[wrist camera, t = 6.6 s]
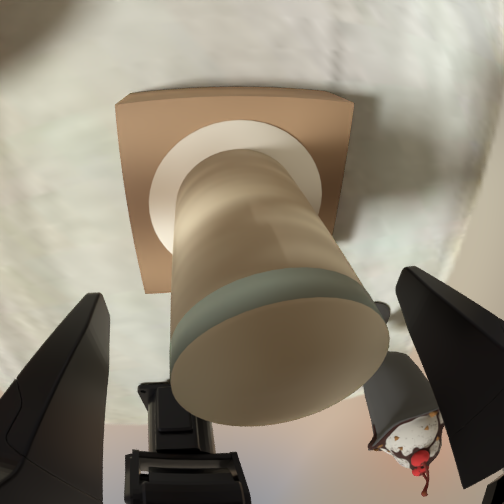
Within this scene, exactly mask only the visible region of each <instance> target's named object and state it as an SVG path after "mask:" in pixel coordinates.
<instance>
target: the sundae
mask: <svg viewBox="0 0 504 504" xmlns="http://www.w3.org/2000/svg"><path fill="white" fill-rule="evenodd" d="M375 305H376V306H377V308H378V310H379V312H380V313H381V315H382V317H383V318H384V320H385V322H386V323H387V321H388V319H389V316H390V311H389V308H388V307H387V306H386V305H385V304H382V303H375ZM363 387H364V393H365V398H366V402H367V406H368V410H369V414H370V418H371V422H372V428H373V434H374V436H373V438H372V440H371V441H370V443H369V444H368V450H375V451H384V452H386V453H388V454H390V455H393V457H394V458H395V459H396V461H397V462H398V463H399V464H400V465H402V466H404V467H406V468H410V469H412V473H413V475H414V476H421V475H423V477H424V478H425V479H426V485H425V487H424V489H423V491H422V493H421V495H422V496H423V497H424V496H427V495H428V494H427V488H428V483H429V470H428V469H429V464H430V463H431V462H432V461H433V460H434V459H435V458H436V457H437V455H438V454H439V452H440V448H441V446H442V439H441V436H442V429H443V427H444V422H443V419H442V416H441V413H440V411H439V408H438V405H437V402H436V399H435V397H434V394H433V391H432V388H431V386H430V383H429V381H428V380H427V378H426V377H425V376H424V374H423V373H422V371H421V370H420V369H419V367H418V366H417V365H416V364H415V363H414V362H413V361H412V359H411V358H410V357H409V356H408V355H406V354H403V353H399V352H389V351H387V354H386V356H385V358H384V360H383V362H382V364H381V365H380V367H379V368H378V370H377V371H376V372H375V373H374V375H373V376H372V377H371V378H370V379H369V380H368V381H367V382H366V383H365V384H364V385H363ZM425 473H426V474H427V477H426V475H425Z"/></svg>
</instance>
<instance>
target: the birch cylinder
mask: <svg viewBox="0 0 504 504" xmlns="http://www.w3.org/2000/svg"><path fill="white" fill-rule="evenodd" d="M389 340H390V338H389V331H388V327H387V325H386V322H385V320H384V318H383V317H382V315H381V313H380V312H379V310H378V308H377V306H376V305H375V303H374V301H373V300H372V298H371V296H370V295H369V293H368V292H367V291H366V289H365V288H364V287H363V285H362V283H361V282H360V280H359V278H358V277H357V275H356V273H355V272H354V270H353V269H352V267H351V265H350V264H349V262H348V261H347V259H346V257H345V256H344V254H343V253H342V251H341V250H340V248H339V246H338V245H337V243H336V242H335V240H334V239H333V237H332V236H331V234H330V233H329V231H328V230H327V228H326V227H325V225H324V224H323V222H322V221H321V219H320V218H319V216H318V215H317V213H316V212H315V210H314V209H313V207H312V206H311V204H310V203H309V201H308V200H307V198H306V197H305V195H304V194H303V193H302V191H301V190H300V188H299V187H298V185H297V184H296V183H295V181H294V180H293V178H292V177H291V175H290V174H289V173H288V171H287V170H286V169H285V168H284V166H282V165H281V164H280V163H279V162H278V161H277V160H275V159H274V158H272V157H270V156H268V155H266V154H264V153H261V152H258V151H254V150H248V149H233V150H227V151H222V152H219V153H216V154H214V155H211V156H209V157H207V158H206V159H204V160H203V161H201V162H200V163H198V164H197V165H196V166H195V167H194V168H193V169H192V170H191V171H190V172H189V173H188V174H187V175H186V177H185V179H184V180H183V182H182V184H181V186H180V188H179V191H178V194H177V199H176V208H175V222H174V238H173V257H172V280H171V324H170V384H171V389H172V393H173V395H174V397H175V399H176V400H177V402H178V403H179V404H180V405H181V406H182V407H183V408H184V409H185V410H186V411H188V412H190V413H191V414H193V415H195V416H197V417H199V418H201V419H204V420H207V421H210V422H213V423H218V424H223V425H231V426H265V425H272V424H279V423H284V422H289V421H292V420H297V419H300V418H303V417H306V416H309V415H312V414H314V413H317V412H320V411H322V410H324V409H326V408H328V407H330V406H332V405H334V404H336V403H338V402H340V401H341V400H343V399H345V398H346V397H348V396H349V395H351V394H352V393H354V392H355V391H356V390H358V389H359V388H360V387H361V386H362V385H364V384H365V383H366V382H367V381H368V380H369V379H370V378H371V377H372V376H373V375H374V373H375V372H376V371H377V370H378V368H379V367H380V365H381V364H382V362H383V360H384V358H385V356H386V354H387V351H388V348H389Z"/></svg>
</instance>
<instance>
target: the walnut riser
mask: <svg viewBox="0 0 504 504" xmlns="http://www.w3.org/2000/svg"><path fill="white" fill-rule="evenodd" d="M353 109H354V103H353V102H351V101H348V100H346V99H344V98H341V97H339V96H337V95H334V94H332V93H329V92H327V91H319V90H307V89H293V88H273V87H202V88H183V89H168V90H157V91H147V92H138V93H130V94H129V95H127V96H126V97H125V98H123V99H122V100H121V101H119V102H118V103H117V104H115V111H116V122H117V132H118V141H119V150H120V158H121V166H122V173H123V180H124V187H125V194H126V200H127V206H128V212H129V217H130V223H131V228H132V234H133V239H134V244H135V249H136V254H137V259H138V263H139V268H140V272H141V277H142V281H143V285H144V290H145V294H152V293H168V292H171V280H172V257H173V238H174V222H175V208H176V199H177V194H178V191H179V188H180V186H181V184H182V182H183V180H184V179H185V177H186V175H187V174H188V173H189V172H190V171H191V170H192V169H193V168H194V167H195V166H196V165H197V164H198V163H200V162H201V161H203V160H204V159H206V158H207V157H209V156H211V155H214V154H216V153H219V152H222V151H227V150H233V149H248V150H254V151H258V152H261V153H264V154H266V155H268V156H270V157H272V158H274V159H275V160H277V161H278V162H279V163H280V164H281V165H282V166H284V168H285V169H286V170H287V171H288V173H289V174H290V175H291V177H292V178H293V180H294V181H295V183H296V184H297V185H298V187H299V188H300V190H301V191H302V193H303V194H304V195H305V197H306V198H307V200H308V201H309V203H310V204H311V206H312V207H313V209H314V210H315V212H316V213H317V215H318V216H319V218H320V219H321V221H322V222H323V224H324V225H325V227H326V228H327V230H328V231H329V233H330V234H331V236H332V234H333V229H334V224H335V219H336V214H337V209H338V204H339V198H340V193H341V187H342V181H343V175H344V170H345V163H346V157H347V151H348V144H349V138H350V131H351V124H352V117H353Z"/></svg>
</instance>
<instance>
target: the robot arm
mask: <svg viewBox="0 0 504 504" xmlns="http://www.w3.org/2000/svg"><path fill="white" fill-rule="evenodd" d="M396 295H397V298H398V301H399V304H400V307H401V310H402V313H403V316H404V319H405V322H406V325H407V328H408V331H409V333H410V336H411V338H412V341H413V343H414V346H415V348H416V350H417V353H418V355H419V357H420V360H421V363H422V365H423V367H424V370H425V373H426V375H427V378H428V380H429V383H430V386H431V388H432V391H433V394H434V397H435V399H436V402H437V405H438V408H439V411H440V413H441V416H442V419H443V422H444V425H445V428H446V431H447V434H448V437H449V441H450V445H451V448H452V451H453V455H454V458H455V462H456V465H457V469H458V472H459V476H460V480H461V484H462V486H463V489H466V488H468V487H470V486H472V485H474V484H476V483H477V482H479V481H481V480H483V479H485V478H486V477H488V476H490V475H492V474H494V473H496V472H497V471H499V470H501V469H502V471H503V474H502V475H501V476H499V477H498V478H497V479H495V480H494V481H493V482H491V483H490V484H488V485H487V488H486V492H485V495H484V498H483V501H482V504H504V321H503V320H502V319H500V318H498V317H497V316H495V315H494V314H492V313H491V312H489V311H488V310H486V309H484V308H483V307H481V306H480V305H478V304H477V303H475V302H474V301H472V300H470V299H469V298H467V297H466V296H464V295H463V294H461V293H459V292H458V291H456V290H454V289H453V288H451V287H450V286H448V285H446V284H445V283H443V282H441V281H440V280H438V279H436V278H435V277H433V276H431V275H430V274H428V273H426V272H425V271H423V270H421V269H420V268H418V267H416V266H409V267H405V268H404V269H403V270H402V272H401V274H400V277H399V279H398V282H397V284H396ZM109 341H110V315H109V312H108V309H107V306H106V303H105V300H104V298H103V295H102V294H101V293H99V292H98V293H88V294H86V295H85V296H84V297H83V298H82V299H81V301H80V302H79V303H78V304H77V305H76V306H75V307H74V308H73V310H72V311H71V312H70V313H69V314H68V315H67V316H66V318H65V319H64V320H63V321H62V322H61V323H60V324H59V326H58V327H57V328H56V329H55V330H54V332H53V333H52V334H51V335H50V336H49V337H48V339H47V340H46V341H45V342H44V343H43V345H42V346H41V347H40V348H39V350H38V351H37V352H36V353H35V355H34V356H33V357H32V358H31V360H30V361H29V362H28V363H27V365H26V366H25V367H24V368H23V370H22V371H21V372H20V374H19V375H18V376H17V379H15V380H14V381H13V383H12V384H11V385H10V387H9V388H8V389H7V390H6V392H5V393H4V394H3V396H2V397H1V398H0V504H103V502H102V501H103V494H102V493H103V488H102V487H103V485H102V483H103V481H102V480H103V479H102V478H103V475H102V474H103V471H102V470H103V439H104V421H105V407H106V395H107V385H108V375H109ZM138 393H139V395H140V397H141V399H142V401H143V403H144V405H145V407H146V409H147V411H148V442H149V452H145V451H139V450H132V451H133V452H132V454H128V455H125V490H124V500H125V503H126V504H251V497H250V492H249V489H248V486H247V483H246V480H245V477H244V474H243V470H242V467H241V464H240V461H239V458H238V455H237V452H230V453H217V454H216V451H215V444H214V436H213V428H212V422H210V421H207V420H204V419H201V418H199V417H197V416H195V415H193V414H191V413H190V412H188V411H186V410H185V409H184V408H183V407H182V406H181V405H180V404H179V403H178V402H177V400H176V399H175V397H174V395H173V393H172V389H171V384H158V385H139V386H138ZM141 471H149V474H141Z"/></svg>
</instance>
